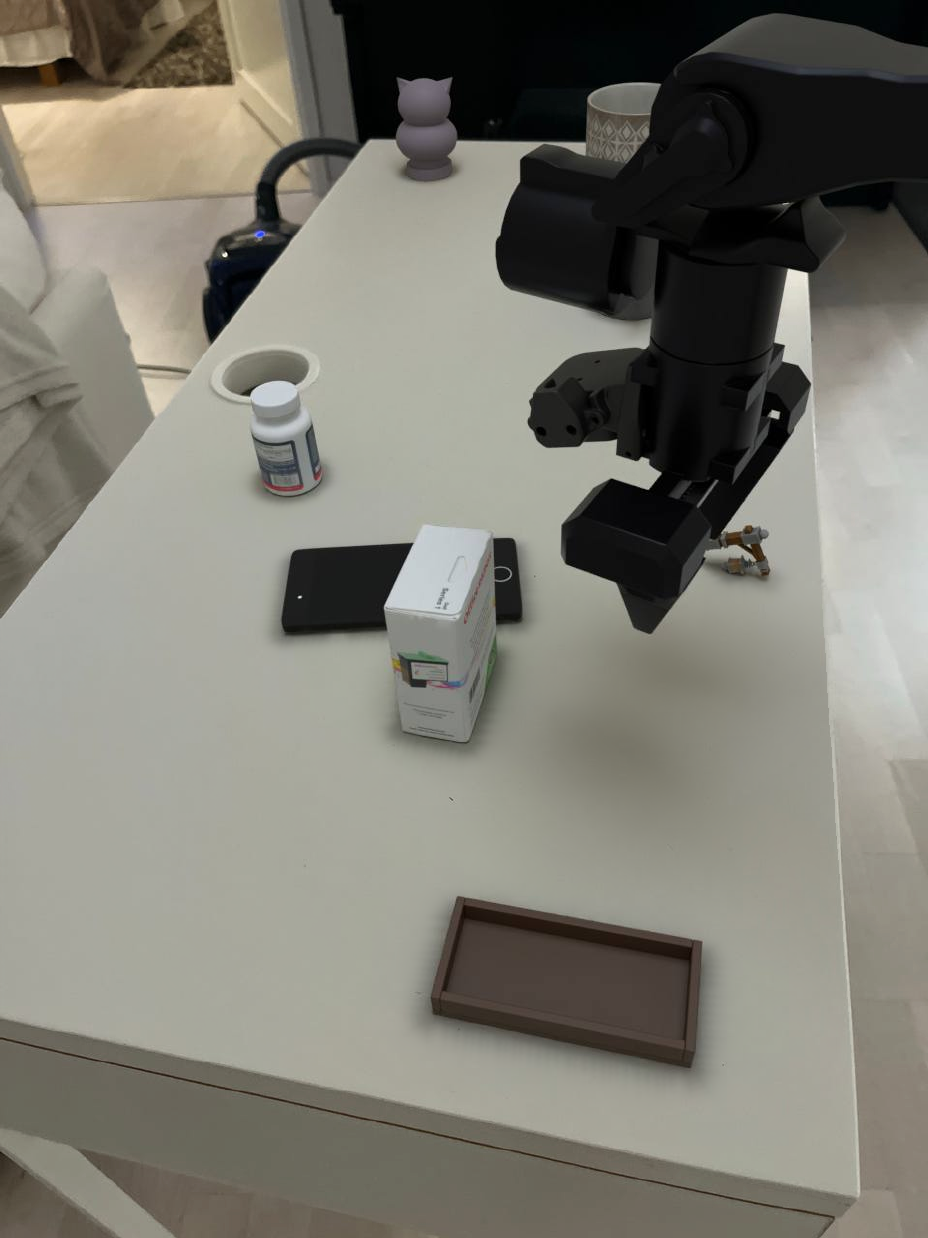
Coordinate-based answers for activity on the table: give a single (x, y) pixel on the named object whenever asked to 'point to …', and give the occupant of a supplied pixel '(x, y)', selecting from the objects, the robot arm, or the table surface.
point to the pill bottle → (284, 439)
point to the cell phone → (371, 585)
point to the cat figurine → (426, 128)
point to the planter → (619, 120)
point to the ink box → (443, 630)
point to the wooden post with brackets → (742, 540)
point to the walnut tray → (571, 980)
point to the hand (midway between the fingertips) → (677, 581)
